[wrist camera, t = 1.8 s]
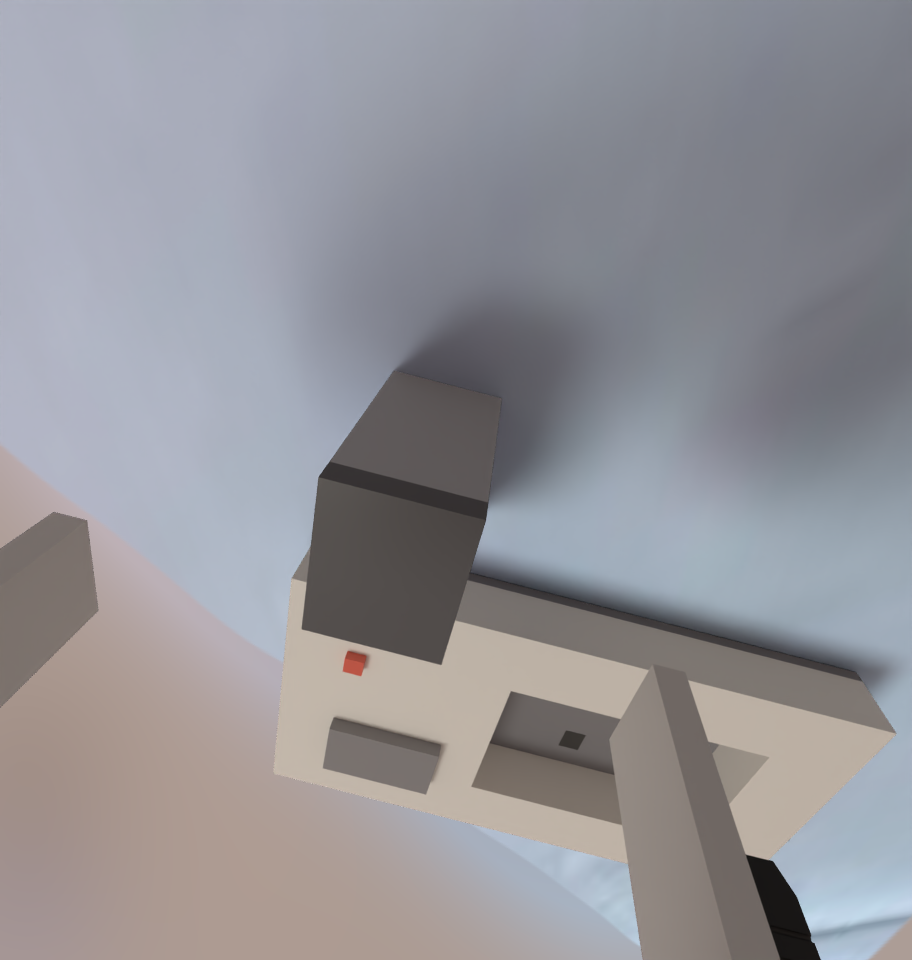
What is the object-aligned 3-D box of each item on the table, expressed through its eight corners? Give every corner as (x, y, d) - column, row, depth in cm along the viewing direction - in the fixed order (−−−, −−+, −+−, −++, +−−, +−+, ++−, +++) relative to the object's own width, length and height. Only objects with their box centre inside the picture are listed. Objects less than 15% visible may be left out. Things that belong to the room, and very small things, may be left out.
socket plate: (317, 533, 24) (285, 588, 20) (856, 672, 24) (905, 748, 21) (295, 721, 30) (268, 785, 27) (718, 829, 30) (740, 905, 27)
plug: (393, 370, 20) (318, 476, 13) (502, 398, 20) (486, 520, 13) (373, 486, 22) (301, 629, 15) (469, 511, 22) (441, 665, 15)
